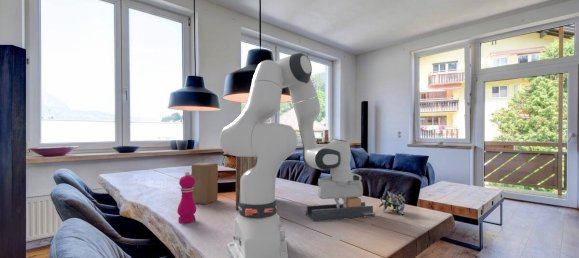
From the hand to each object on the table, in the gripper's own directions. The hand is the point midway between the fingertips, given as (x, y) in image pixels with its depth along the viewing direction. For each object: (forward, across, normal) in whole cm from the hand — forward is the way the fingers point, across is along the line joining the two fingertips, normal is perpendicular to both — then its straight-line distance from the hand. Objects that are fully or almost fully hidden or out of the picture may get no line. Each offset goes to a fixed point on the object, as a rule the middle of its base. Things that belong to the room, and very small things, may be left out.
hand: (340, 207), depth 115 cm
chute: (+3, 0, 0) cm, 3 cm away
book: (+4, -34, +28) cm, 44 cm away
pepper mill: (+3, -64, +8) cm, 65 cm away
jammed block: (+2, +5, 0) cm, 6 cm away
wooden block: (+4, -59, +38) cm, 70 cm away
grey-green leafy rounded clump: (+3, +24, -3) cm, 24 cm away
